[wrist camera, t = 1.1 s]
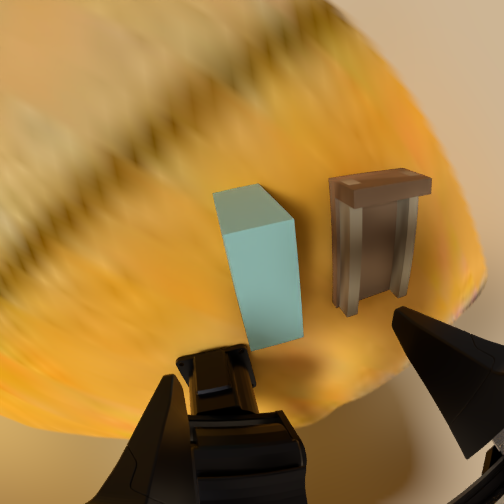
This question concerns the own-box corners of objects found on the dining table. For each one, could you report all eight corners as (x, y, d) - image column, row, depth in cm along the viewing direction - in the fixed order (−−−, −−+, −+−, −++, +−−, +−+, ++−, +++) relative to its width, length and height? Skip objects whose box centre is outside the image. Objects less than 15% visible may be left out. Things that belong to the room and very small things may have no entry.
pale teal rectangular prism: (273, 273, 21) (306, 336, 15) (233, 283, 21) (251, 351, 14) (260, 183, 18) (297, 218, 11) (212, 193, 17) (223, 235, 11)
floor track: (395, 281, 24) (415, 300, 21) (332, 302, 23) (349, 326, 20) (402, 167, 19) (431, 178, 16) (328, 178, 18) (353, 190, 15)
